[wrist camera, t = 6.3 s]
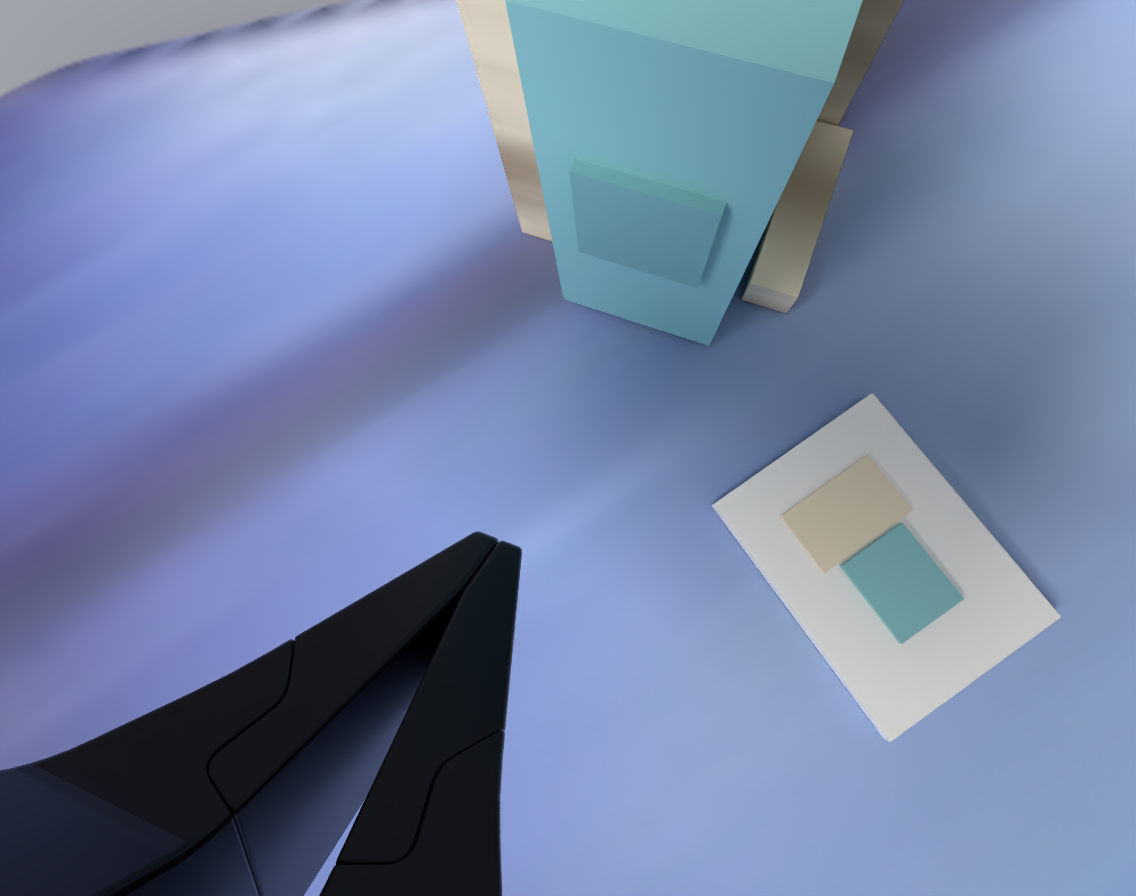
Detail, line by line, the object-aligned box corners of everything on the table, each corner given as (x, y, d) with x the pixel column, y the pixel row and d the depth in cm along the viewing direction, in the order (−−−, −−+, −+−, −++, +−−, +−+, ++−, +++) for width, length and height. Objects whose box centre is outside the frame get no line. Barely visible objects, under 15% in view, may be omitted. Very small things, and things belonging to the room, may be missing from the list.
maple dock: (786, 313, 19) (980, 49, 9) (522, 232, 20) (434, -80, 10) (855, 106, 20) (1097, -335, 10) (601, 40, 21) (591, -409, 11)
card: (1050, 615, 16) (1066, 617, 16) (883, 737, 16) (892, 744, 16) (867, 396, 18) (875, 391, 17) (710, 505, 18) (714, 504, 17)
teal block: (706, 354, 18) (828, 100, 8) (560, 307, 19) (497, 17, 9) (784, 133, 19) (978, -340, 9) (643, 96, 20) (677, -384, 10)
